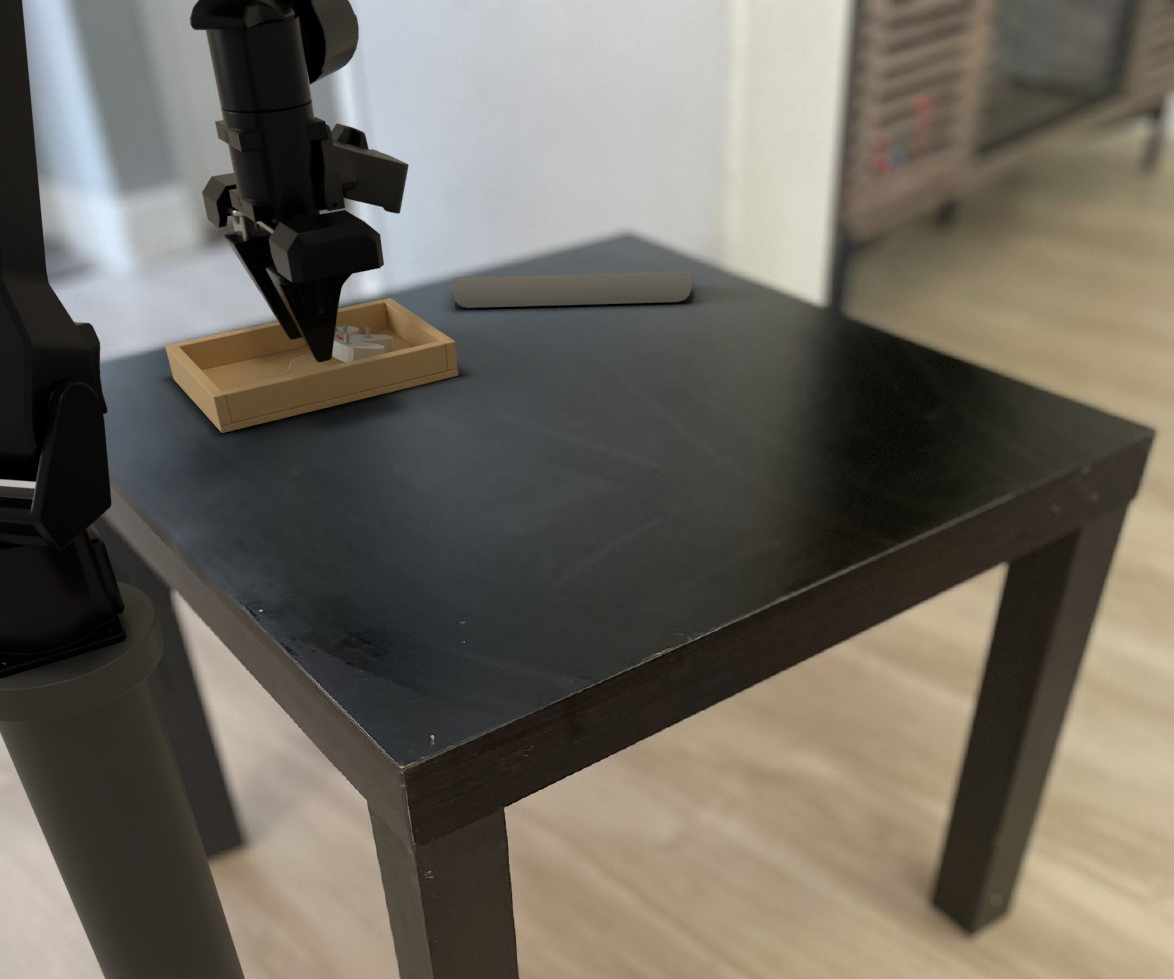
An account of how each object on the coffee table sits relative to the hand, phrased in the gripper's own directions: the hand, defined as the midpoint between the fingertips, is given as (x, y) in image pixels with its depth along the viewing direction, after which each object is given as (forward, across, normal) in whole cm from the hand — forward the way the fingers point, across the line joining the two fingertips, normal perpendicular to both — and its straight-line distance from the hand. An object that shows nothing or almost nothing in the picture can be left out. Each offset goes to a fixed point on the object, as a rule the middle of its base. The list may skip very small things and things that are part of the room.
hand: (310, 349), depth 87 cm
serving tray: (+2, 0, 0) cm, 2 cm away
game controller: (+2, 0, 0) cm, 2 cm away
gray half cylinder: (+2, +4, -24) cm, 24 cm away
